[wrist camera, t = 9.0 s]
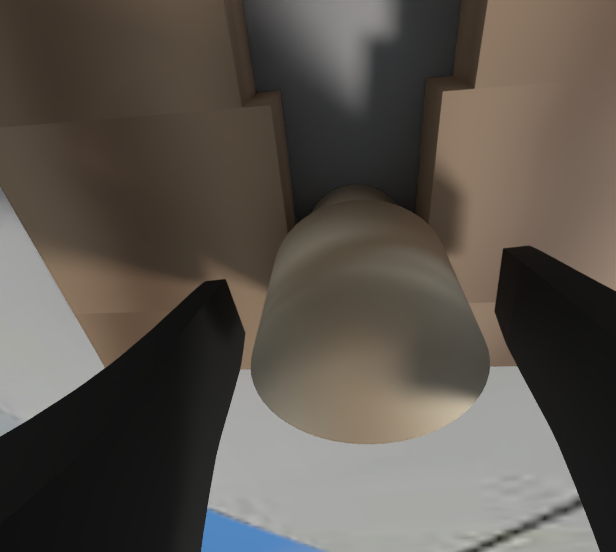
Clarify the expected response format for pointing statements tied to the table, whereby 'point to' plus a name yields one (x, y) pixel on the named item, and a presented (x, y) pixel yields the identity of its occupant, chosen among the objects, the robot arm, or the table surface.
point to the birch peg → (366, 325)
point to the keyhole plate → (274, 155)
